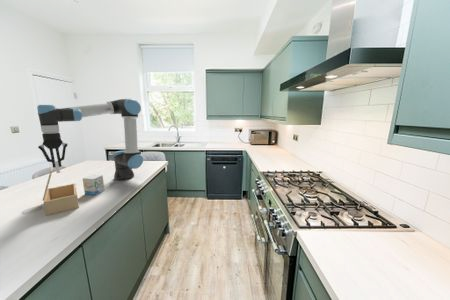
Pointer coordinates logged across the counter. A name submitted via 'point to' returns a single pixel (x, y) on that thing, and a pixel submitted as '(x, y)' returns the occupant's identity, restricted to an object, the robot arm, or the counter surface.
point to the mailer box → (60, 199)
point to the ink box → (93, 184)
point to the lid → (47, 183)
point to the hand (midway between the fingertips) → (58, 172)
